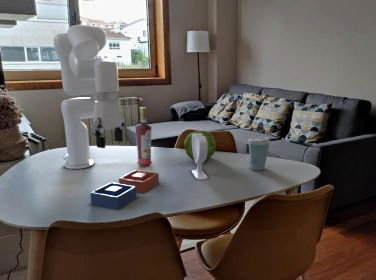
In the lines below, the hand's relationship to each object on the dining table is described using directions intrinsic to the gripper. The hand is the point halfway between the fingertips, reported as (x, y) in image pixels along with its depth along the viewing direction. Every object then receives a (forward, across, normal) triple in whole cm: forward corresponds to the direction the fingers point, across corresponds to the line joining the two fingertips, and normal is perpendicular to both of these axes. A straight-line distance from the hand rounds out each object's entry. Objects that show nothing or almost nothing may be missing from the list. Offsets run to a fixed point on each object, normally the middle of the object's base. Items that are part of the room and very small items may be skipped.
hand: (110, 144), depth 127 cm
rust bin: (+21, -14, +3) cm, 25 cm away
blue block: (+20, +3, +3) cm, 20 cm away
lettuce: (+21, -60, +8) cm, 64 cm away
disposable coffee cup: (+21, -56, +40) cm, 72 cm away
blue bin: (+20, +2, +3) cm, 21 cm away
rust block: (+20, -14, +3) cm, 24 cm away
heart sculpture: (+21, -36, +18) cm, 46 cm away
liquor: (+21, -37, -10) cm, 44 cm away
